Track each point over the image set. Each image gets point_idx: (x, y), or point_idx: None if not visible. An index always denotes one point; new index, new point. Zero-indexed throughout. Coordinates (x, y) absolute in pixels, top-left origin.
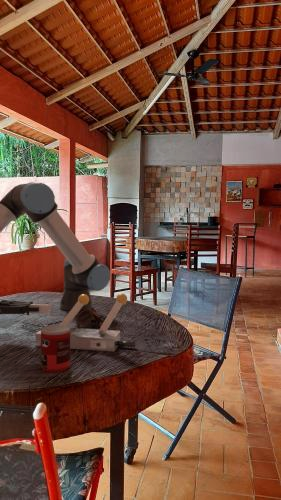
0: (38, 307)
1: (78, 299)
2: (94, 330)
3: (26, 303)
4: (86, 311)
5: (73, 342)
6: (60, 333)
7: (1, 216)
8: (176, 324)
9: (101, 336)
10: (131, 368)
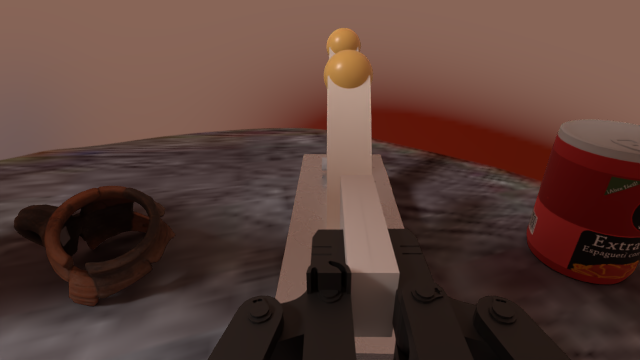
0: (392, 230)
1: (365, 75)
2: (311, 188)
3: (330, 342)
4: (67, 218)
5: None
6: (632, 129)
7: None
8: (157, 138)
9: None
10: (456, 160)
